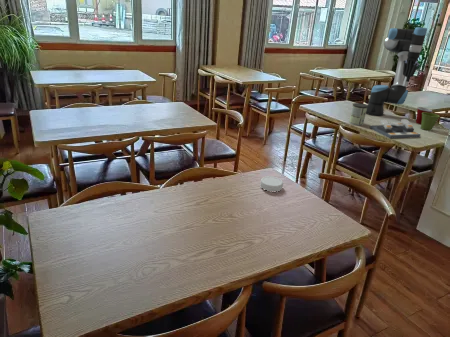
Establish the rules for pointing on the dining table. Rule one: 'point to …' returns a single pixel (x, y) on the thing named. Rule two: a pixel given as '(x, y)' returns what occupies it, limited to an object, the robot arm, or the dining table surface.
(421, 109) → the plastic cup
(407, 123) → the switch
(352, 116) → the coffee can
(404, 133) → the switch panel
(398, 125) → the switch middle
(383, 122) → the switch
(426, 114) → the plant pot
